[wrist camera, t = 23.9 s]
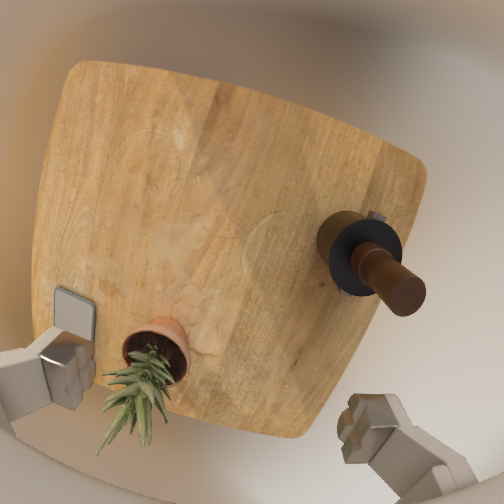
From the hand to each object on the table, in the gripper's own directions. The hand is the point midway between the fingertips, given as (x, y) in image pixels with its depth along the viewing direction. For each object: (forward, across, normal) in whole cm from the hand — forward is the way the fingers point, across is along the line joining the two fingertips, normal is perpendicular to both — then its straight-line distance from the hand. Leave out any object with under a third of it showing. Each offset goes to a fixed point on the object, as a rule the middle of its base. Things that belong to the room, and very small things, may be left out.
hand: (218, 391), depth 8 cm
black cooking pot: (+31, -13, 0) cm, 34 cm away
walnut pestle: (+22, -13, 0) cm, 26 cm away
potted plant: (+31, +9, +19) cm, 38 cm away
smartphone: (+31, +26, +24) cm, 47 cm away
